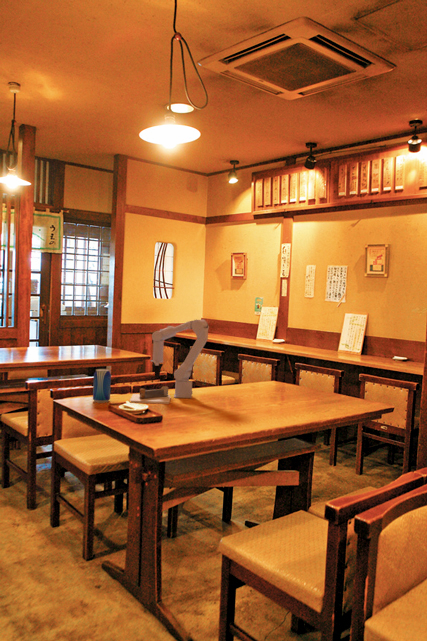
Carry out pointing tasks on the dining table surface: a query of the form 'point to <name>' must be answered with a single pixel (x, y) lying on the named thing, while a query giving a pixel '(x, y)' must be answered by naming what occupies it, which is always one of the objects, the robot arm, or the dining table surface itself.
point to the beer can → (101, 386)
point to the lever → (154, 392)
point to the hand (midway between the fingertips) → (157, 376)
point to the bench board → (150, 399)
